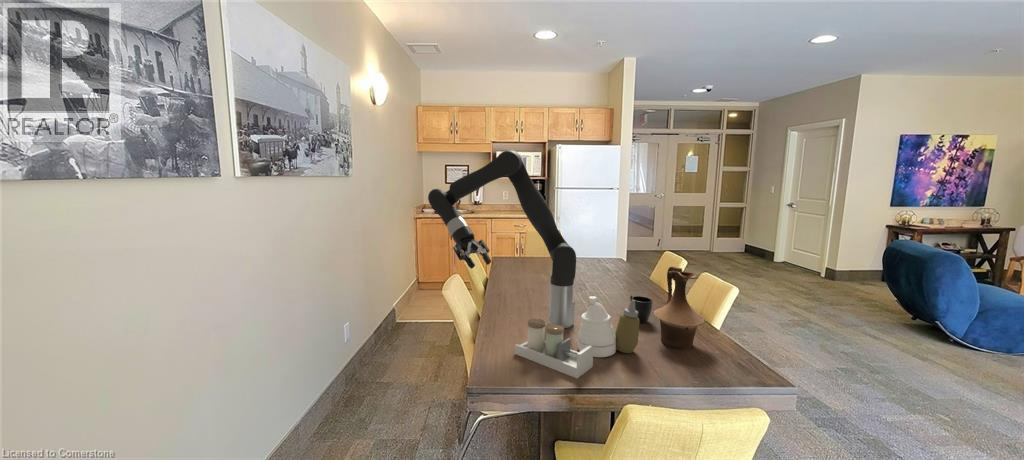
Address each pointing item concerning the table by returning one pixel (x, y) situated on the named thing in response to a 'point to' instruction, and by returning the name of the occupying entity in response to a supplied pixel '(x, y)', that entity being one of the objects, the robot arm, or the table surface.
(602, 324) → the honey pot
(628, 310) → the squeeze bottle
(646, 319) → the mug
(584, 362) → the jar lane
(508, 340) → the table surface
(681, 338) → the pitcher
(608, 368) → the table surface
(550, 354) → the sage jar
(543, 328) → the cream jar
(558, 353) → the pusher
